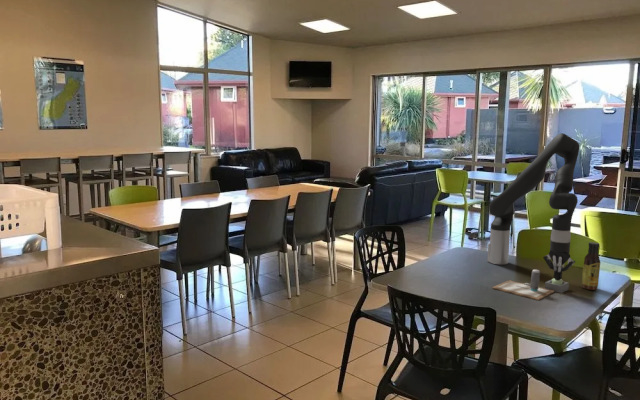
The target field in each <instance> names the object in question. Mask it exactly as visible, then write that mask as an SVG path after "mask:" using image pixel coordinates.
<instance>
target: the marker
mask: <svg viewBox="0 0 640 400" xmlns="http://www.w3.org/2000/svg"><path fill="white" fill-rule="evenodd" d="M530 276H531V277H530V284H531V285H530V288H531V290H532V291H537V290H538V288H539V287H540V280H541V279H540V278H541V277H540V276H541V271H540V270H539V269H532V271H531V275H530Z"/></svg>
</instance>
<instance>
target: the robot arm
mask: <svg viewBox="0 0 640 400" xmlns="http://www.w3.org/2000/svg"><path fill="white" fill-rule="evenodd" d="M579 152H580V143H579V142H578V141H577V140H575V139H573V138H572V137H570V136H568V135H567V134H565V133H558V134H556V136H555V137H553V138H552V139H551V140H550V142H549V143H548V144H547V145H546V147H544V148H543V150H542V151H541V152H540V154H539V155H538V156H536V158H535V159H534V160H533V161H532V162H531V163H530V164H528V166H527V167H525V168H524V169H523V170H522V171H521V172H520V173H519V174H518V176H516V178H515V179H514V180H513V181H512V182H511V183H510V184H509V185H508V186H507V187H506V189H504V190H503V191H502V192H501V193H500V194H498V195H497V196H496V197H494V198H493V199H492V200H491V201H490V202H489V206H488V211H489V214H491V215H492V216H494V219H493V220H492V222H491V223H490V234H489V235H490V237H489V242H488V245H487V258H486V259H487V261H486V262H488V263H491V264H492V265H501V266H502V265H508V264H509V258H510V257H509V255H510V240H511V239H510V238H511V226H512V223H513V218H514V203H515V202H516V201H517V200H519V199H520V198H522V197H523V196H525V195H527V194H528V193H530V192H531V191H533V189H535V188H536V187H537V186H538V185H539V184H540V183H541V182H542V181H543V180H544V178H545V175H546V170H547V166H548V162H549V161H550V160H551V158H552V157H553V156H554V155H555V154H556V155H557V156H559V157H561V158H562V159H563V161H564V163H563V165H562V166H561V167H559V168H558V169H557V171H556V173H555V176H554V187H553V191H552V193H551V194H550V197H549V200H548V204H549V206H550V208H551V209H554V210H561V211H563V210H564V211H565V210H566V212H565V213H561V214H555V215H553V217H552V222H551V226H552V227H551V232H550V243H549V245H550V247H549V252H548V254H547V255H544V256H543V259H544V261H545V263H546V264H547V266H548V267H549V269H550V270H553V271H554V272H553V278H555V280H560V279H562V280H563V273H564V272H567V271H568V270H569V269H570V268H571V267H572V266H574V264H575V263H576V260H573V258H571V255H570V253H571V252H570V250H571V237H572V235H571V234H572V233H571V227H572V219H573V218H572V217H573V216H574V213H575V210H576V208H577V204H578V201H579V200H578V197H577V196H578V195H576V194H575V193H573V192H572V191H573V189H574V173H575V167H576V165H577V161H578V157H579ZM566 263H567V264H566Z"/></svg>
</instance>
